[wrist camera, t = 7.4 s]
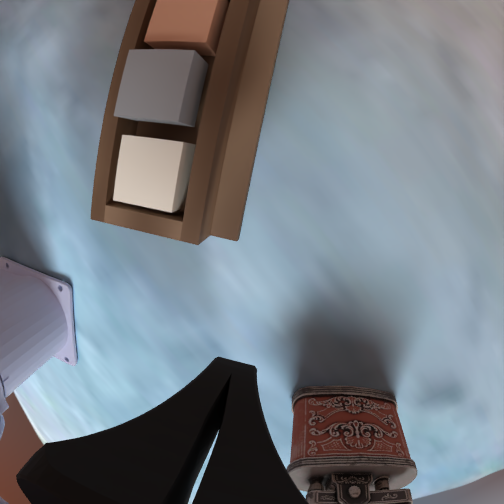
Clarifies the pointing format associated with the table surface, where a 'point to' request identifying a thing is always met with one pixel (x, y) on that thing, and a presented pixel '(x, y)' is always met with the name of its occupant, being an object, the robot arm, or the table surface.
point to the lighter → (349, 447)
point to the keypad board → (200, 127)
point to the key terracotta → (187, 25)
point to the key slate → (161, 86)
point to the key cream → (153, 172)
